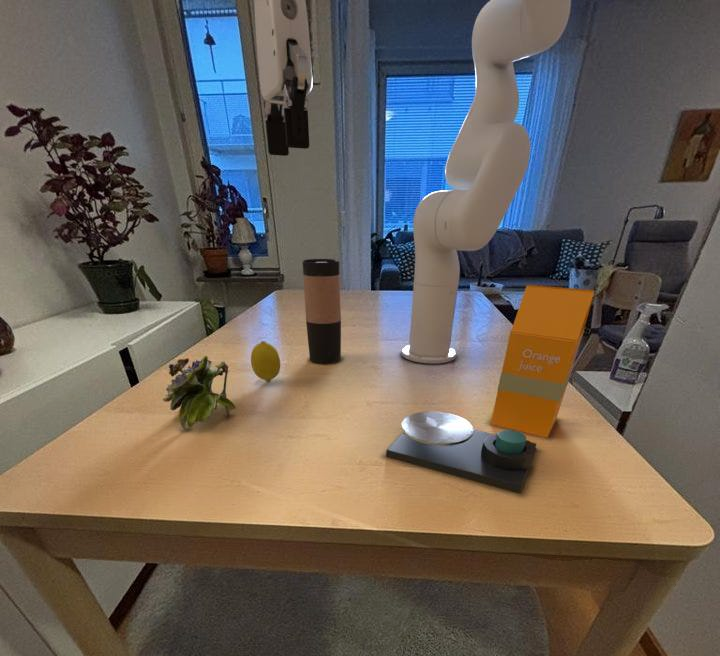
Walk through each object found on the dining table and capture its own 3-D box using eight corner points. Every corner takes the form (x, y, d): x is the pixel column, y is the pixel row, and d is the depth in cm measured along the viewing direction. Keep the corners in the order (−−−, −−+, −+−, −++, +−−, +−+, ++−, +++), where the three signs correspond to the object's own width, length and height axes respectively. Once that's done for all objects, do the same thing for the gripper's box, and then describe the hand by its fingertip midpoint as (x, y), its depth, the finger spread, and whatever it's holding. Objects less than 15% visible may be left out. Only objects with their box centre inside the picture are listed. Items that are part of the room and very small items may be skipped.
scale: (417, 423, 64) (419, 406, 62) (536, 451, 56) (542, 432, 55) (385, 457, 55) (386, 438, 53) (521, 494, 48) (527, 474, 46)
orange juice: (547, 438, 60) (592, 294, 48) (489, 424, 63) (518, 288, 52) (556, 419, 65) (598, 286, 54) (503, 407, 69) (531, 281, 58)
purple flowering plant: (197, 438, 70) (194, 372, 71) (252, 433, 68) (249, 364, 68) (149, 429, 59) (146, 351, 60) (213, 422, 57) (209, 340, 57)
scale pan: (416, 408, 61) (417, 406, 61) (481, 422, 57) (481, 420, 57) (389, 435, 54) (390, 432, 54) (461, 453, 50) (461, 450, 50)
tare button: (498, 439, 54) (500, 427, 53) (525, 445, 53) (528, 433, 52) (492, 450, 51) (494, 438, 50) (520, 457, 50) (524, 445, 49)
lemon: (276, 388, 76) (271, 346, 71) (249, 386, 77) (242, 344, 72) (286, 378, 80) (282, 338, 76) (261, 376, 81) (255, 336, 77)
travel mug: (302, 361, 89) (294, 261, 78) (318, 352, 95) (313, 258, 84) (333, 366, 87) (329, 263, 76) (347, 356, 93) (345, 259, 81)
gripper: (328, -52, 44) (333, 146, 54) (284, 7, 57) (294, 158, 67) (262, -70, 42) (279, 142, 51) (231, -4, 54) (250, 156, 64)
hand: (287, 151), depth 59 cm, fingers open, 9 cm apart
